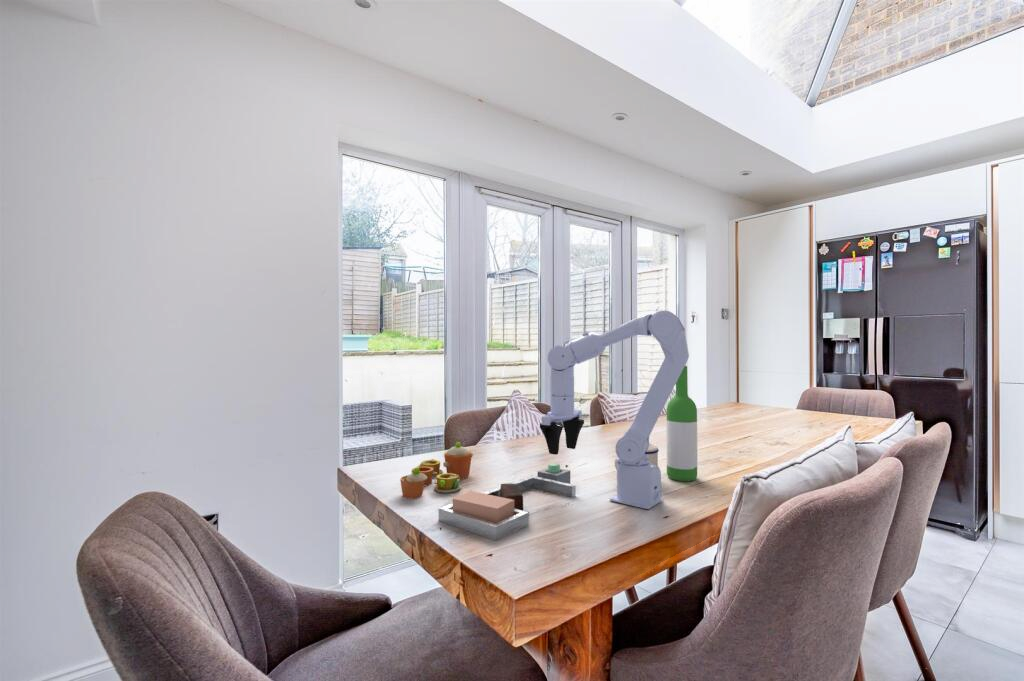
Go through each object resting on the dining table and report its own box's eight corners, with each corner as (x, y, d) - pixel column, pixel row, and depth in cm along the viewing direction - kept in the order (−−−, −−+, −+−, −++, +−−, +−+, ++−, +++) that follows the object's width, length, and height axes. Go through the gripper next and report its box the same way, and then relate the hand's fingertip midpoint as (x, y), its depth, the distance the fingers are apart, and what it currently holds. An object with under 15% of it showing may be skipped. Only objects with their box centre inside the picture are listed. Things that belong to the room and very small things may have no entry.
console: (570, 484, 123) (570, 470, 123) (557, 489, 118) (557, 475, 118) (551, 479, 127) (551, 466, 127) (537, 485, 122) (537, 471, 122)
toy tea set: (421, 471, 137) (421, 437, 137) (475, 472, 136) (475, 438, 136) (390, 501, 111) (390, 459, 111) (456, 503, 110) (456, 460, 110)
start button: (562, 480, 123) (562, 464, 123) (555, 482, 120) (555, 466, 120) (552, 478, 124) (552, 462, 125) (545, 480, 122) (545, 465, 122)
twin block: (470, 514, 102) (470, 490, 102) (514, 524, 96) (514, 499, 96) (452, 523, 97) (452, 498, 97) (497, 535, 91) (497, 508, 91)
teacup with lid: (645, 475, 131) (645, 432, 131) (666, 484, 122) (665, 439, 122) (606, 479, 127) (606, 435, 127) (624, 489, 118) (624, 442, 118)
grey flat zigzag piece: (585, 498, 112) (585, 487, 112) (495, 540, 88) (495, 526, 88) (532, 485, 122) (532, 475, 122) (438, 520, 98) (438, 508, 98)
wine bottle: (702, 478, 128) (702, 365, 128) (688, 484, 122) (688, 367, 123) (675, 472, 133) (675, 365, 134) (661, 478, 128) (660, 366, 128)
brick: (523, 517, 100) (523, 495, 100) (504, 518, 99) (504, 496, 99) (516, 501, 110) (516, 480, 110) (499, 502, 110) (499, 481, 110)
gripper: (565, 391, 125) (565, 443, 125) (531, 396, 114) (531, 453, 114) (588, 393, 120) (588, 447, 120) (555, 398, 109) (555, 458, 109)
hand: (562, 451), depth 117 cm, fingers open, 7 cm apart
